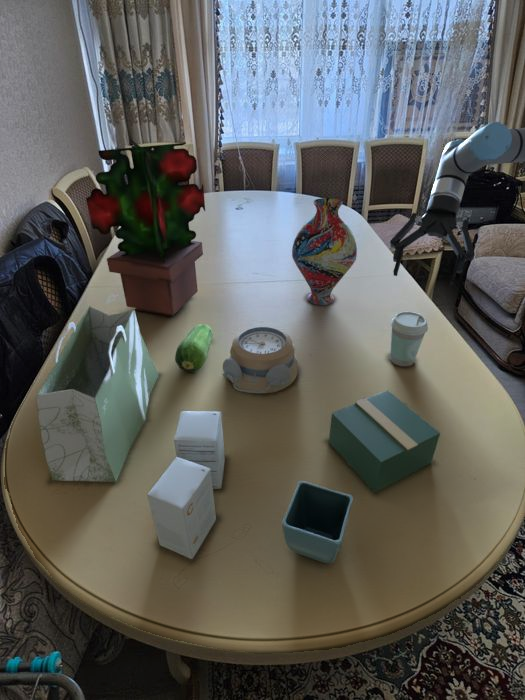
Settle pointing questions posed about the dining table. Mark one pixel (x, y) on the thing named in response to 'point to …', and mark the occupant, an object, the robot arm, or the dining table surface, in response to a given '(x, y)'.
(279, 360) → the alarm clock
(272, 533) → the dining table surface
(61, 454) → the green gift bag
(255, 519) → the dining table surface
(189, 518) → the small box
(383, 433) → the green parcel box
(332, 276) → the vase
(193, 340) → the vegetable
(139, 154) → the potted plant
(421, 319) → the coffee cup
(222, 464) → the white packaging box
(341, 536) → the flower pot
